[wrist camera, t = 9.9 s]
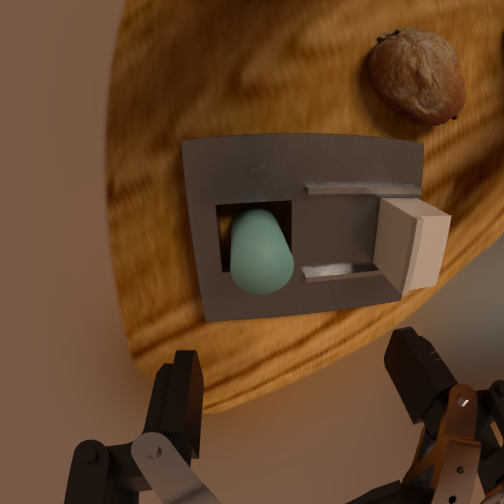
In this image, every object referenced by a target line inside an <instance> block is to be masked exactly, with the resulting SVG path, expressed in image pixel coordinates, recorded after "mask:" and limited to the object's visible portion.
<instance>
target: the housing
mask: <svg viewBox="0 0 504 504" xmlns="http://www.w3.org/2000/svg"><path fill="white" fill-rule="evenodd" d="M181 147H182V158H183V168H184V178H185V187H186V196H187V204H188V212H189V220H190V228H191V235H192V242H193V249H194V256H195V262H196V269H197V275H198V281H199V287H200V293H201V299H202V304H203V310H204V315H205V320H206V321H225V320H241V319H255V318H268V317H280V316H290V315H300V314H310V313H318V312H327V311H335V310H343V309H350V308H357V307H364V306H371V305H377V304H383V303H390V302H395V301H401V298H402V295H401V294H400V293H399V292H398V291H397V289H396V288H395V287H394V286H393V285H392V284H391V283H390V281H389V280H388V279H387V278H386V277H385V276H384V274H383V273H382V272H381V271H380V270H379V269H378V268H377V267H376V266H375V264H374V263H373V256H374V249H375V242H376V234H377V226H378V216H379V206H380V198H418V199H420V195H422V189H421V185H422V173H423V157H424V143H420V142H414V141H407V140H400V139H392V138H382V137H372V136H360V135H344V134H321V133H270V134H246V135H230V136H218V137H207V138H197V139H188V140H183V141H181ZM266 201H285V224H286V243H287V245H288V247H289V250H290V252H291V254H292V257H293V261H294V269H293V273H292V276H291V278H290V280H289V281H288V282H287V283H286V284H285V286H283V287H282V288H281V289H279V290H277V291H275V292H273V293H270V294H264V295H258V294H252V293H249V292H246V291H244V290H243V289H241V288H240V287H239V286H238V285H237V284H236V283H235V281H234V280H233V278H232V275H231V270H230V263H231V256H230V257H223V248H222V238H221V227H220V217H219V206H218V205H221V204H235V203H250V202H266Z"/></svg>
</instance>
